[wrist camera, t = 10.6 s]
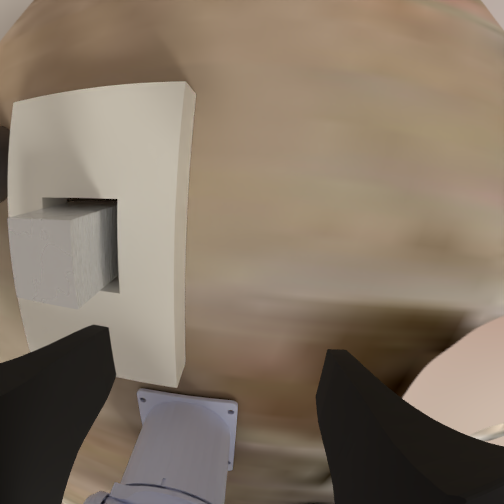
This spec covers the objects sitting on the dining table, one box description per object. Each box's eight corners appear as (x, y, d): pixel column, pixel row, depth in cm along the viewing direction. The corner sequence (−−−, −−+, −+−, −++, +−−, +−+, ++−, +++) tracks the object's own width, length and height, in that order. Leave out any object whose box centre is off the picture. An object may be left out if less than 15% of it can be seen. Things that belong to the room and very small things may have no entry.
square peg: (129, 265, 20) (77, 309, 13) (77, 260, 20) (17, 297, 13) (128, 202, 19) (70, 220, 12) (74, 200, 19) (7, 218, 12)
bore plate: (185, 362, 22) (177, 387, 19) (49, 336, 21) (30, 354, 19) (196, 94, 17) (185, 81, 14) (38, 107, 17) (13, 102, 14)
